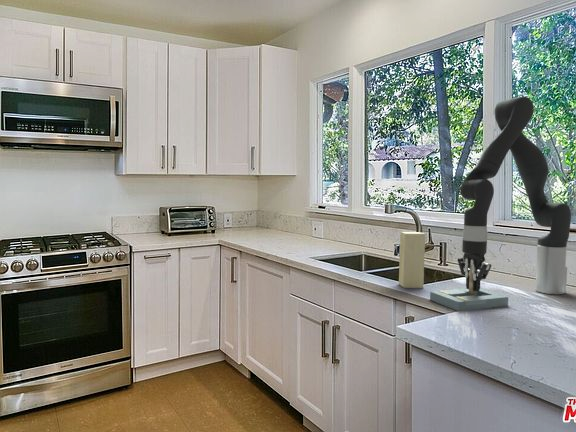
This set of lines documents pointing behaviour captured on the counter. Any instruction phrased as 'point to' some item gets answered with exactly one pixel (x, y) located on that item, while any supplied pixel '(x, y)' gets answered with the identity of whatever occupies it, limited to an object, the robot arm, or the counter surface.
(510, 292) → the counter surface
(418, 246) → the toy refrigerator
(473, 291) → the boss peg
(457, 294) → the keyhole board
